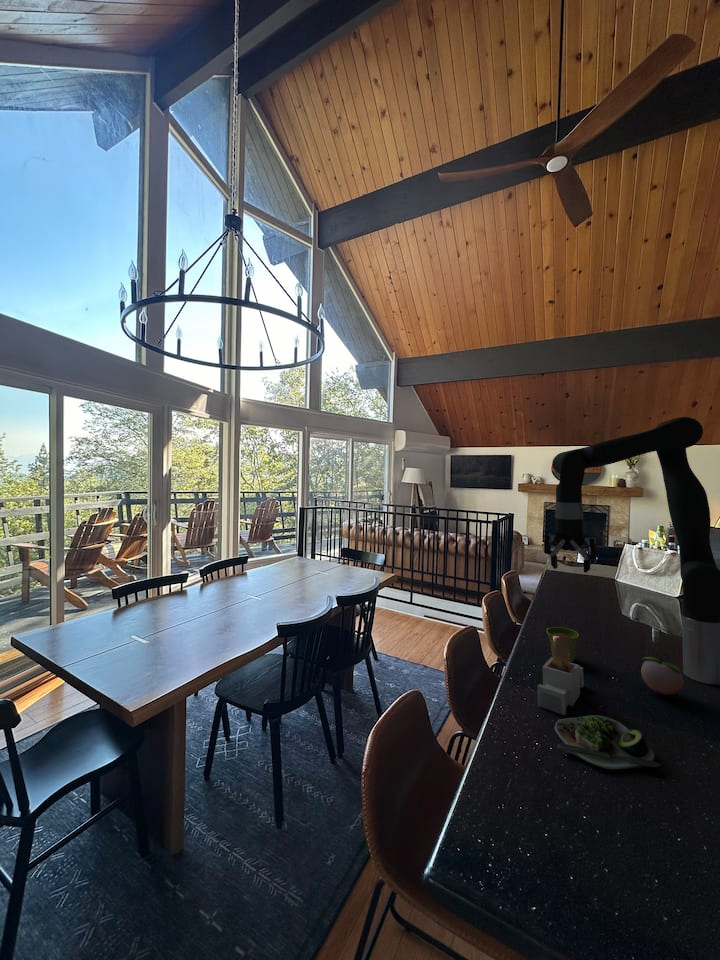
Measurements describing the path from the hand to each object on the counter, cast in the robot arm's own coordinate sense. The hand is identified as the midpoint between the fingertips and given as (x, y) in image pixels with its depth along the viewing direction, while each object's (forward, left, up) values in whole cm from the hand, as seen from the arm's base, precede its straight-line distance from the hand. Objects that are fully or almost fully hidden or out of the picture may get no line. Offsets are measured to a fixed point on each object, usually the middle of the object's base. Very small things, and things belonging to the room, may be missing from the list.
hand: (570, 570), depth 122 cm
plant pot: (+4, -5, -30) cm, 31 cm away
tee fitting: (-2, +18, -30) cm, 35 cm away
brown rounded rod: (-2, +18, -26) cm, 32 cm away
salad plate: (-15, +33, -31) cm, 48 cm away
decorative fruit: (-22, +1, -30) cm, 37 cm away
